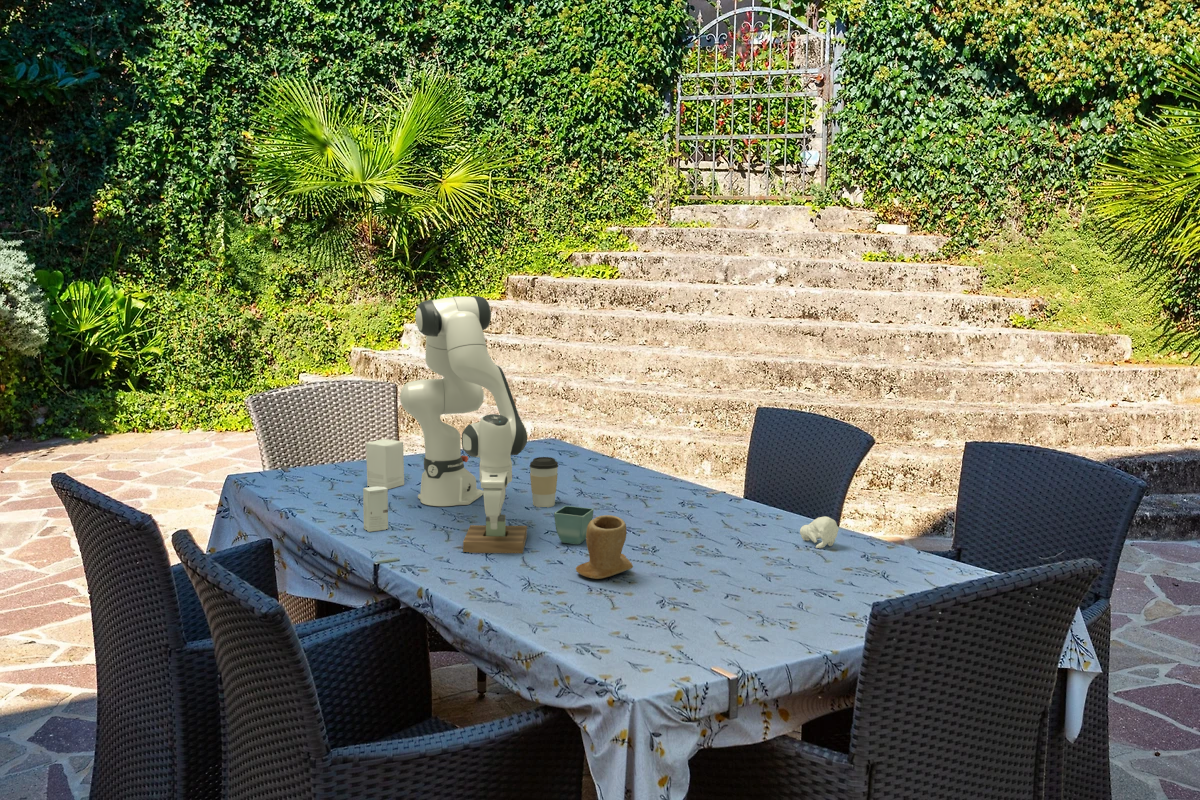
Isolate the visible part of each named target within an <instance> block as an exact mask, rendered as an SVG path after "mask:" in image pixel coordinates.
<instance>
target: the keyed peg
mask: <svg viewBox="0 0 1200 800" xmlns="http://www.w3.org/2000/svg"><path fill="white" fill-rule="evenodd" d="M485 516H486V515H485ZM506 521H507V520H506V514H504V513H503V514H502V513H501V514H499V516H498V527H497V529H491V523H490V517H487V516H486V517H485V525H486V536H506V526H507V525H506Z"/></svg>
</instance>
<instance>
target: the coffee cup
mask: <svg viewBox="0 0 1200 800" xmlns="http://www.w3.org/2000/svg"><path fill="white" fill-rule="evenodd" d="M529 464H530V465H529V470H530V471H529V476H530V477H529V478H530V489H531V495H532V506H533V505H534V506H533V507H535V506H536V507H535V508H540V507H547V508H552V507H554V506H555V504H556V492H557V485H558V469H559V464H558V461H557V460H556V459H555V458H553V457H551V456H549V457H548V456H539V457H535V458H533V459H532V461H530V463H529Z"/></svg>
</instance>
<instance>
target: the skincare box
mask: <svg viewBox="0 0 1200 800" xmlns="http://www.w3.org/2000/svg"><path fill="white" fill-rule="evenodd" d="M362 490H363V491H362V493H363V495H362V496H363V497H362V499H363V500H362V502H363V503H362V505H363V508H362V509H363V510H362V511H363V529H364V530H365V531H366V530H367V532H368V533H369V532H378V531H385V530H386V529H387V530H389V503H388V502H389V496H388V495H389V493H388V492H389V489H387V488H385V487H383V486H377V487H368V486H367V487H363V488H362ZM387 530H386V531H387Z"/></svg>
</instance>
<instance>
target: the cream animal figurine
mask: <svg viewBox="0 0 1200 800" xmlns="http://www.w3.org/2000/svg"><path fill="white" fill-rule="evenodd" d="M839 530H840V529H839V526H838V524H837V521H836V520H835V519H833V518H831V517H829V516H821V517H820V516H819V517H817V518H815V519H813V520H812V522H811V521H810V523H809V524H803V525H802V526H801V527H800V529H799V534H800V537H801V538H802V541H807V542H808V541H810V540H811V542H813V543H814V544H815V543H817V542H818V539H821V542H819V543H817V544H816V546H815V548H816V549H817V548H819V549H824V548H825V547H826V546H828V547H832V546H833V545H834V543H835V541H836V539H837V537H838V533H839Z"/></svg>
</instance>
